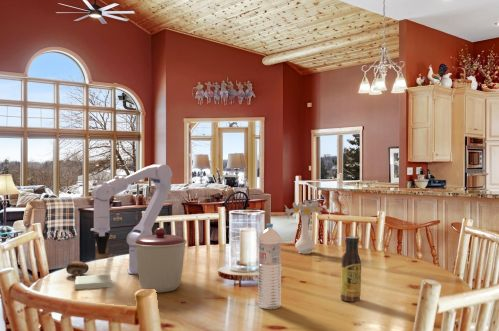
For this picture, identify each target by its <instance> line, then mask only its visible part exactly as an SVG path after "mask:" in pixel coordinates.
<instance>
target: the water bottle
mask: <svg viewBox="0 0 499 331" xmlns="http://www.w3.org/2000/svg"><path fill="white" fill-rule="evenodd" d="M273 227H274V224H273V223H266V229H265V230H263V231H262V232H261V233H260V234H259V236H258V264H257V265H258V271H257V272H258V273H257V274H258V288H257V290H258V294H257V295H258V306H259V308H261V309H265V310H276V309H279V308H280V307H281V305H282V303H281V302H282V300H281V299H282V263H281V262H282V258H281V253H282V252H281V251H282V250H281V249H282V248H281V246H282V244H281V243H282V238H281V236H280V234H279V233H278V232H277V230H275V229H274V228H273Z"/></svg>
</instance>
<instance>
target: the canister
mask: <svg viewBox="0 0 499 331" xmlns="http://www.w3.org/2000/svg"><path fill="white" fill-rule="evenodd" d="M187 243H188V240H187V239H186V238H184V237H183V236H179V235H176V234H166V229H165V228H164V227H158V228H156V229H155V231H154V234H152V235H149V236H144V237H140V238H138V239H137V240H136V241H134V242H133V244H134V245H135V248H136V257H137V267H138V274H137V275H138V281H139V284H140V287H141V289H142V290H143V289H155V290H156V291H157V293H156V294H158V293H159V294H160V293H168V292H173V291H176V290H177V289H178V288H179V287H180V284H181V280H182V275H183V274H182V273H183V266H184V257H185V248H186V246H185V245H186V244H187Z"/></svg>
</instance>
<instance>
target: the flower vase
mask: <svg viewBox="0 0 499 331" xmlns="http://www.w3.org/2000/svg"><path fill="white" fill-rule="evenodd" d="M284 207H285V209H284V210H285V213H286V214H287V216H286V217H287V220H289V219H290V215H291V213H292V215H291V216H292V217H293V218H294V217H296V215H297V214H299V213H300V218H301V233H300V236H299V238H298V240H297V241H296V243H295V244H294V245H295V246H294V247H295V249H296V250H297V251H298V253H299V254H301V253H302V254H303V255H304V254H305V255H307V254H312V251H313V250H314V249H315V247H316V246H315V243H314V241H313V240H312V239H311V237H310V232H309V220H310V219H311V220H312V213H313V214H314V213H318V214H319V215H320V216H323V213H322V212H321V211H323V210H324V209H323V207H322V206H319V201H318V200H316V201H312V202H308V200H305V201H304V204H303V201H300V202H299V203H298V204H297V203H296V202H293V203H292V208H288V207H287V205H284Z"/></svg>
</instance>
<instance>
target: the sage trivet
mask: <svg viewBox="0 0 499 331" xmlns="http://www.w3.org/2000/svg"><path fill="white" fill-rule="evenodd" d="M102 288H112V277H111V273H109V274H94V275H93V274H91V275H80V276H75V280H74V290H87V289H89V290H90V289H102Z"/></svg>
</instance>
